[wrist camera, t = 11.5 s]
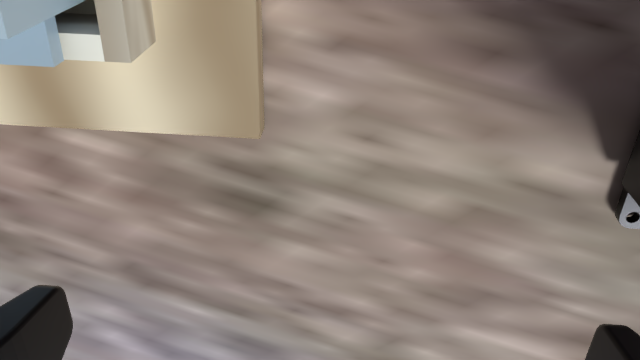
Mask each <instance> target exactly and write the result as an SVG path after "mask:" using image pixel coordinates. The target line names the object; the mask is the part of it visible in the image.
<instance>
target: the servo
mask: <svg viewBox="0 0 640 360" xmlns="http://www.w3.org/2000/svg"><path fill="white" fill-rule="evenodd" d="M83 1H85V0H0V64H4V65H23V66H43V67H55V66H57V65H58V64H60V63H61V62H63V61H64V58H63V53H62V48H61V43H60V38H59V34H58V29H57V24H56V19H55V15H57V14H59V13H61V12H63V11H65V10H67V9H69V8H71V7H73V6H75V5H77V4H79V3H81V2H83Z"/></svg>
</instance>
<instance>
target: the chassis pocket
mask: <svg viewBox="0 0 640 360" xmlns="http://www.w3.org/2000/svg"><path fill="white" fill-rule="evenodd" d="M55 19H56V24H57V29H58V34H59V38H60V43H61V48H62V53H63V58H64V61H63V62H61V63H60V64H58V65H57V66H55V67H43V66H23V65H4V64H0V124H4V125H22V126H40V127H58V128H76V129H93V130H111V131H129V132H147V133H165V134H182V135H200V136H218V137H236V138H254V139H260V137H261V135H262V132H263V130H264V94H263V54H262V15H261V0H85V1H83V2H81V3H79V4H77V5H75V6H73V7H71V8H69V9H67V10H65V11H63V12H61V13H59V14H57V15H55Z"/></svg>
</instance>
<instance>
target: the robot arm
mask: <svg viewBox="0 0 640 360" xmlns="http://www.w3.org/2000/svg"><path fill="white" fill-rule="evenodd" d="M622 185H623V187H624V188H623V191H622V194H621V197H620V200H619V203H618V205H617V208H616V212H615V216H616V218H617V220H618V221H619V223H620V224H621V225H622V226H623V227H626V228H634V229H640V131H639V134H638V137H637V140H636V143H635V146H634V148H633V151H632V154H631V157H630V160H629V163H628V166H627V169H626V172H625V174H624V177H623V180H622ZM631 212H635V214H634V215H633V216H631V217H626V216H627V215H628V214H629V213H631ZM72 329H73V321H72V317H71V313H70V309H69V306H68V302H67V298H66V294H65V292H64V290H63V289H62V288H61V287H59V286H50V285H37V286H34V287H32V288H31V289H29V290H27V291H26V292H24V293H22V294H21V295H19V296H17V297H15V298H14V299H12V300H10V301H9V302H7V303H5V304H4V305H2V306H0V360H62V358H63V355H64V353H65V350H66V348H67V345H68V342H69V340H70V337H71V334H72ZM585 360H640V336H639V335H638V334H637V333H636V332H634V331H633V330H632V329H630V328H629V327H627V326H624V325H612V324H602V325H600V326H599V327H598V328H597V330H596V332H595V334H594V337H593V340H592V342H591V345H590V347H589V350H588V353H587V355H586V358H585Z"/></svg>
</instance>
